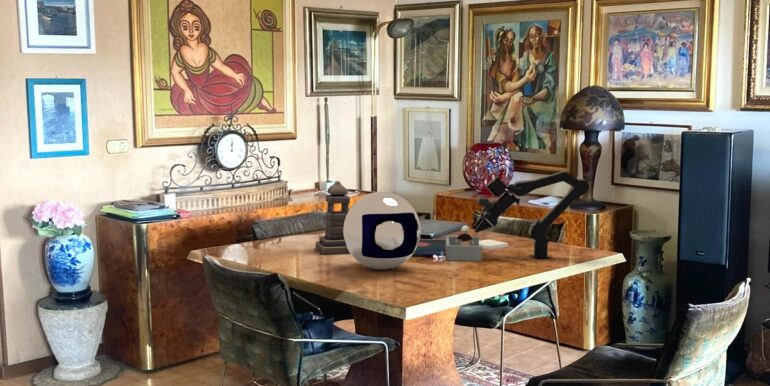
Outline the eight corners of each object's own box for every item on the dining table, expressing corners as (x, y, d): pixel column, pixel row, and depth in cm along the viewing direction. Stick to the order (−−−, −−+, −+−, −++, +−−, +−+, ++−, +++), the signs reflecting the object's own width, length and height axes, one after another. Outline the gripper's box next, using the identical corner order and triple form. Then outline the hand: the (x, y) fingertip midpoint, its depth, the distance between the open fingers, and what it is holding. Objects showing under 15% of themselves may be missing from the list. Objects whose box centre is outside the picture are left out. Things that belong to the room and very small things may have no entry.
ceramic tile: (508, 246, 395) (508, 243, 395) (488, 249, 388) (488, 246, 388) (488, 242, 405) (488, 239, 404) (469, 245, 397) (469, 242, 397)
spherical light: (353, 279, 327) (354, 197, 324) (335, 263, 355) (335, 188, 352) (430, 275, 336) (431, 195, 332) (406, 259, 364) (407, 186, 360)
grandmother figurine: (473, 254, 376) (474, 225, 374) (473, 256, 372) (474, 226, 370) (455, 254, 377) (455, 224, 375) (455, 256, 373) (455, 226, 371)
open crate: (478, 250, 385) (478, 236, 385) (481, 261, 362) (481, 246, 362) (445, 249, 386) (445, 236, 385) (446, 260, 363) (446, 245, 362)
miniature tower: (322, 255, 371) (322, 183, 367) (315, 248, 385) (315, 179, 382) (360, 253, 376) (360, 182, 372) (351, 247, 390) (352, 178, 386)
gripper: (487, 187, 380) (460, 212, 382) (490, 193, 361) (462, 219, 363) (505, 206, 380) (478, 231, 382) (509, 213, 362) (481, 239, 364)
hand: (474, 230), depth 373 cm, fingers open, 9 cm apart
